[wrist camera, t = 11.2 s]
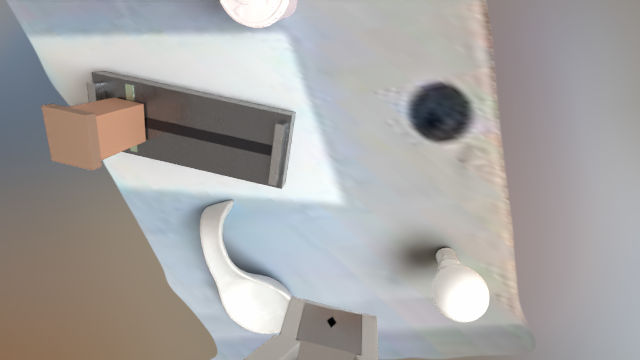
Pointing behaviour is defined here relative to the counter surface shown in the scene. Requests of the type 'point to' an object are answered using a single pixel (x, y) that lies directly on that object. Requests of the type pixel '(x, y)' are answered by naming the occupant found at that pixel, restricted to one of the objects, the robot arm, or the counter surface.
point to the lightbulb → (458, 289)
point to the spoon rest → (241, 279)
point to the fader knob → (93, 130)
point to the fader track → (205, 129)
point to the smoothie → (258, 11)
